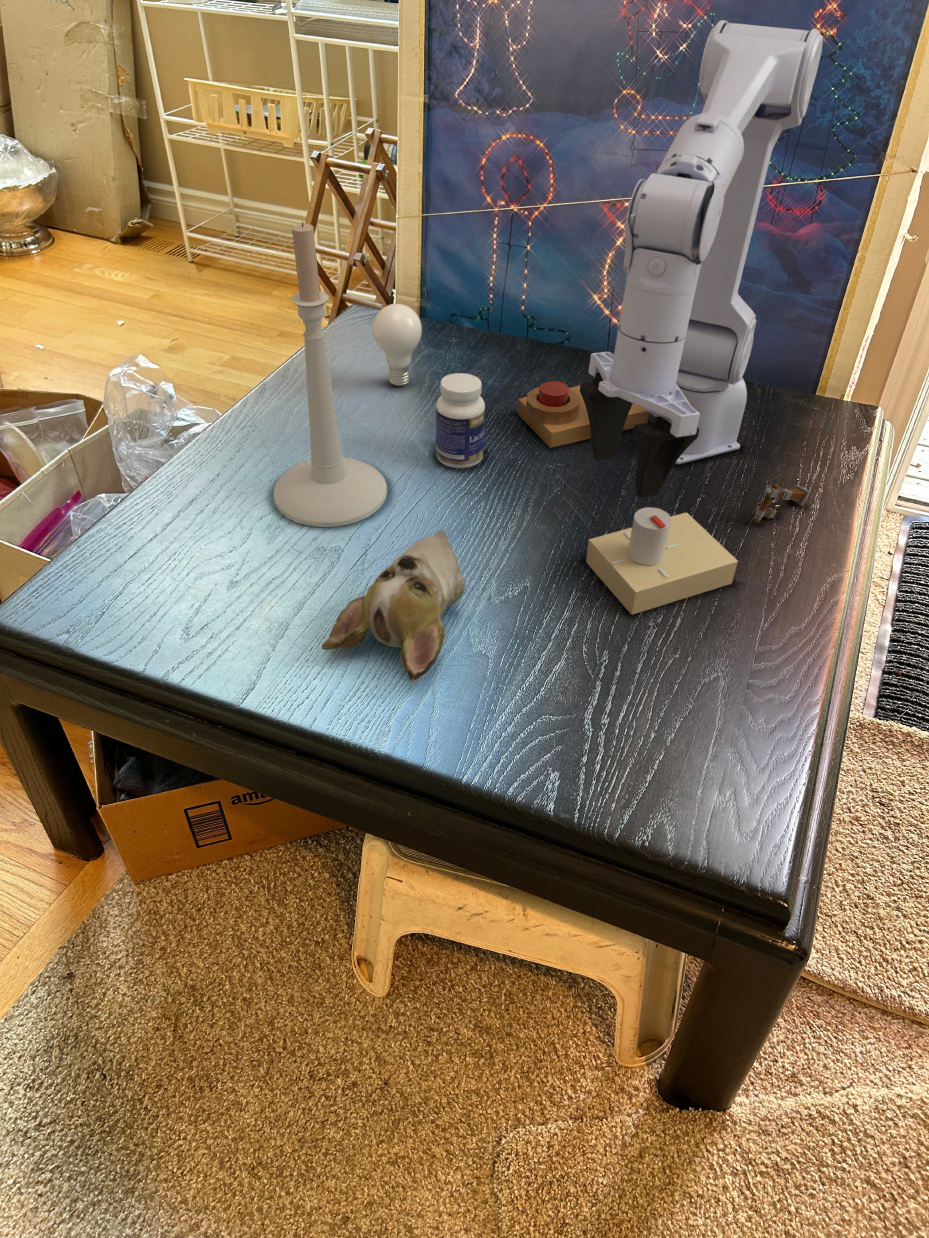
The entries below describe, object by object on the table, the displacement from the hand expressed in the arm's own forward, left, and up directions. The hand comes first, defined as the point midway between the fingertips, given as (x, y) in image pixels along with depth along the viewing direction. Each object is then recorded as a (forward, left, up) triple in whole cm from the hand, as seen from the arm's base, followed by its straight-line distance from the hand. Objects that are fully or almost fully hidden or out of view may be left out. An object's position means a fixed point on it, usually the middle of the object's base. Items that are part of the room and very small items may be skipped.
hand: (624, 475), depth 84 cm
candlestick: (+22, -25, -12) cm, 36 cm away
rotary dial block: (-5, +2, -12) cm, 13 cm away
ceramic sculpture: (+22, 0, -12) cm, 25 cm away
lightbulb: (+5, -46, -12) cm, 48 cm away
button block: (-13, -28, -12) cm, 33 cm away
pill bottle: (+5, -26, -12) cm, 30 cm away
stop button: (-8, -28, -9) cm, 31 cm away
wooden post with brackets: (-23, -2, -12) cm, 26 cm away
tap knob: (-3, +2, -9) cm, 10 cm away
